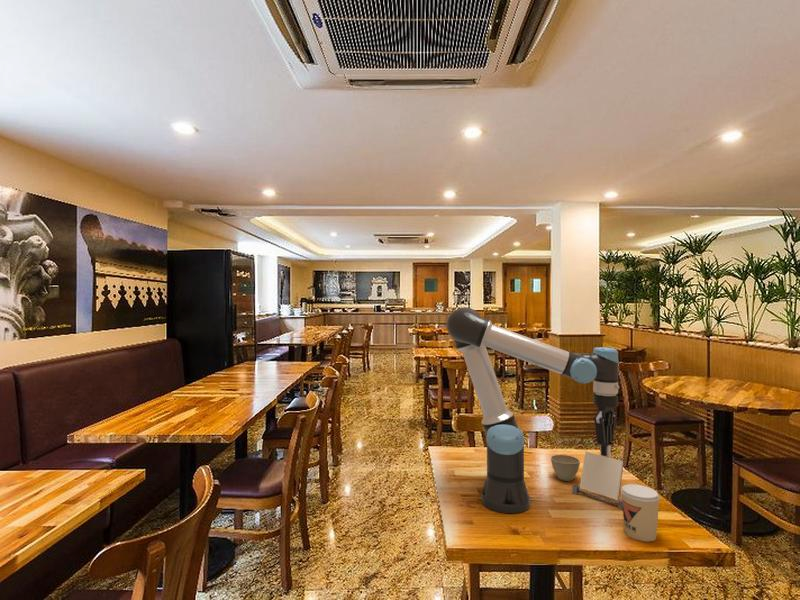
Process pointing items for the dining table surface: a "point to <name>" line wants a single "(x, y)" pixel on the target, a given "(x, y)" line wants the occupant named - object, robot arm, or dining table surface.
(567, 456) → the flower pot
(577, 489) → the hinge bracket
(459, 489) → the dining table surface
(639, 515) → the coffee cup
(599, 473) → the tile
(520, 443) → the robot arm
